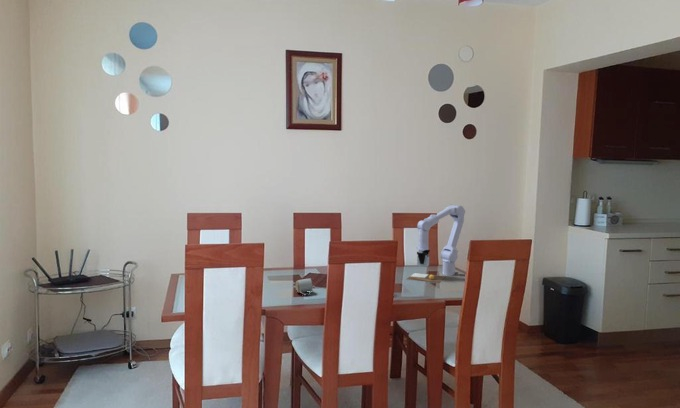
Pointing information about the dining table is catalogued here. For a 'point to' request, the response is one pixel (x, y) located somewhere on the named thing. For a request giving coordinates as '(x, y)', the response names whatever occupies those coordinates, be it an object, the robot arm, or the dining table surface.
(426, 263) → the light blue cube
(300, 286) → the ceramic mug
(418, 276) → the pad
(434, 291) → the dining table surface
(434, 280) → the board
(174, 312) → the dining table surface
